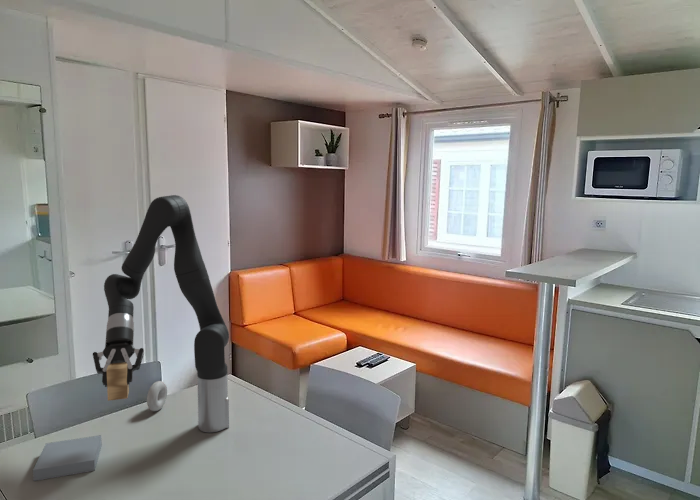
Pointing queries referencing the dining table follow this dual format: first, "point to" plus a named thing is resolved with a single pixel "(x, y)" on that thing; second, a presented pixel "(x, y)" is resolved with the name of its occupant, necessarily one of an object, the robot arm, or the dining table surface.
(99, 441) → the plinth
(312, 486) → the dining table surface
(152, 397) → the donut
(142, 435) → the dining table surface
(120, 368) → the block
